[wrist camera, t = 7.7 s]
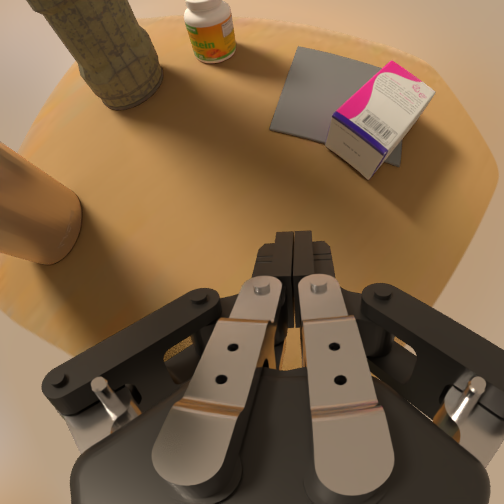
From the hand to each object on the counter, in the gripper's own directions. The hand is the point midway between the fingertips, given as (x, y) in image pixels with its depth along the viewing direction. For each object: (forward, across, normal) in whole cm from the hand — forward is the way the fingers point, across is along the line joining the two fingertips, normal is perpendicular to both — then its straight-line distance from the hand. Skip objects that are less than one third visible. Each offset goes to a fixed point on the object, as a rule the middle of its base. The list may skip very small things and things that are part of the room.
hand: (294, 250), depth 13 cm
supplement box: (+16, -5, -1) cm, 17 cm away
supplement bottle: (+28, +9, -14) cm, 33 cm away
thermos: (+25, +19, -12) cm, 34 cm away
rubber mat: (+24, -6, -6) cm, 26 cm away
